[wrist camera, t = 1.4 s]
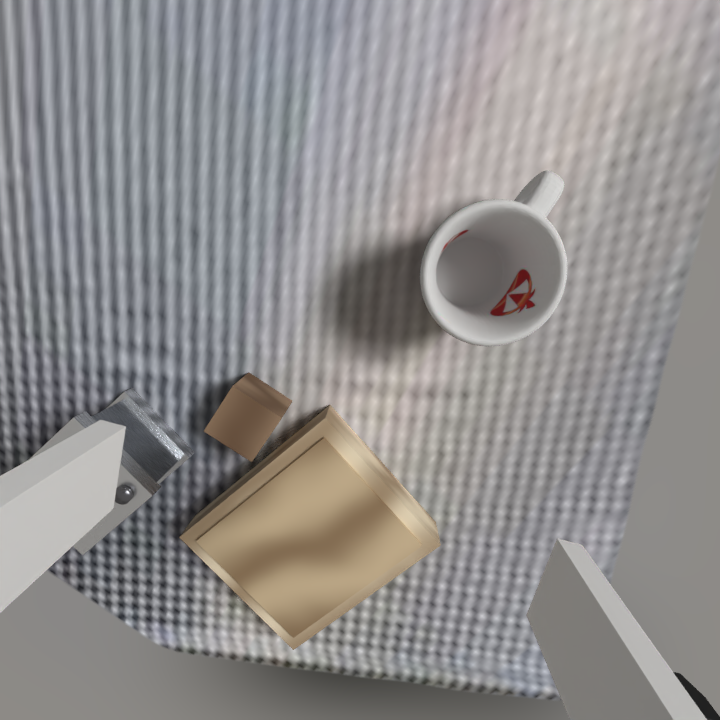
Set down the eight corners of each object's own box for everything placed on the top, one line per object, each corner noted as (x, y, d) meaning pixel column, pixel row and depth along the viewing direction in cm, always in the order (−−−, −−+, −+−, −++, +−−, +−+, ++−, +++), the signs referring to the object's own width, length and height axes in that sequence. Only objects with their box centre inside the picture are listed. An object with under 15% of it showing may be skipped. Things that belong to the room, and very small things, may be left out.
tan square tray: (194, 515, 37) (177, 539, 34) (329, 404, 35) (324, 419, 32) (299, 620, 39) (292, 653, 36) (435, 522, 37) (441, 547, 33)
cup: (480, 153, 31) (514, 117, 23) (572, 221, 31) (636, 208, 23) (389, 287, 33) (392, 295, 25) (477, 347, 33) (507, 374, 26)
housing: (74, 440, 37) (-1, 485, 29) (132, 387, 35) (69, 419, 28) (136, 501, 38) (78, 559, 30) (195, 451, 36) (149, 498, 29)
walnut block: (222, 412, 36) (203, 431, 32) (249, 372, 35) (232, 386, 31) (265, 440, 36) (251, 462, 32) (292, 400, 35) (281, 418, 31)
